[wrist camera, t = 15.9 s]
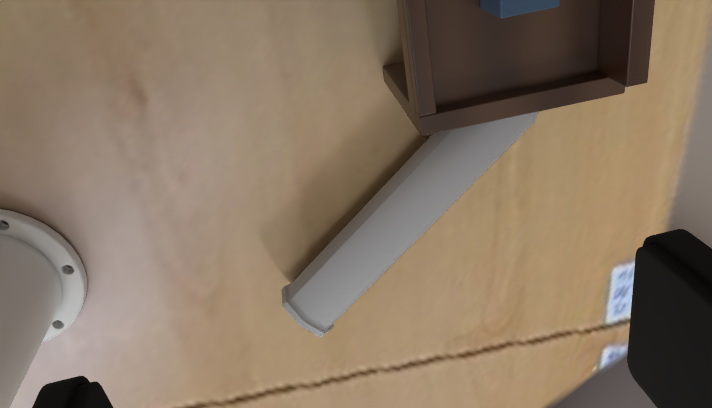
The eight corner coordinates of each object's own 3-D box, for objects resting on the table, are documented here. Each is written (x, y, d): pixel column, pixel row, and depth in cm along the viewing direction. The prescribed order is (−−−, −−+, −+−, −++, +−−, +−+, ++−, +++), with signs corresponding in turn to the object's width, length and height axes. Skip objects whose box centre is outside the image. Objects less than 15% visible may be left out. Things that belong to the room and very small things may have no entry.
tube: (507, 56, 38) (273, 304, 44) (564, 110, 38) (324, 347, 45) (495, 55, 43) (287, 277, 49) (545, 103, 43) (333, 316, 50)
